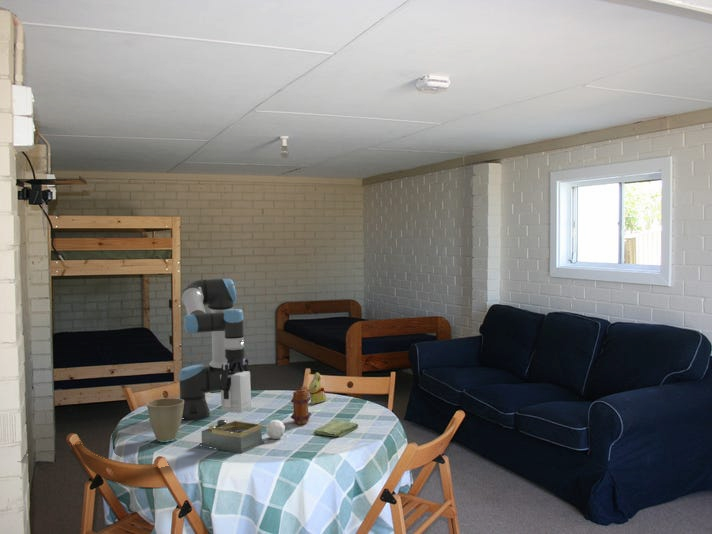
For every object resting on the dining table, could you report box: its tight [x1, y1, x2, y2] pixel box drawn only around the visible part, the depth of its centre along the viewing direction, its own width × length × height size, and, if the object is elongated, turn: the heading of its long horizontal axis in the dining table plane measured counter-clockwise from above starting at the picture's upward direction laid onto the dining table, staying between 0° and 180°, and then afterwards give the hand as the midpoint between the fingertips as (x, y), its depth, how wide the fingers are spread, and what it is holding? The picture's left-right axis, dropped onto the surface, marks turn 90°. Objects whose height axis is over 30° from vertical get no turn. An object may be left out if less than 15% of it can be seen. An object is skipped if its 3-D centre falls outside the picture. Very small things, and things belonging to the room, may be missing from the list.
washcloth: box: [313, 419, 359, 438], centre depth 289 cm, size 13×18×3 cm
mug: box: [290, 385, 312, 425], centre depth 305 cm, size 15×8×15 cm, turn 168°
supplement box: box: [220, 370, 252, 414], centre depth 271 cm, size 9×9×15 cm
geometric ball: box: [265, 419, 286, 440], centre depth 281 cm, size 8×8×8 cm
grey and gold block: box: [198, 419, 266, 454], centre depth 274 cm, size 22×15×8 cm
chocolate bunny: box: [308, 372, 327, 405], centre depth 339 cm, size 7×11×15 cm, turn 139°
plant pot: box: [146, 397, 184, 441], centre depth 282 cm, size 15×15×16 cm
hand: (236, 404), depth 271 cm, fingers closed on supplement box, 10 cm apart
